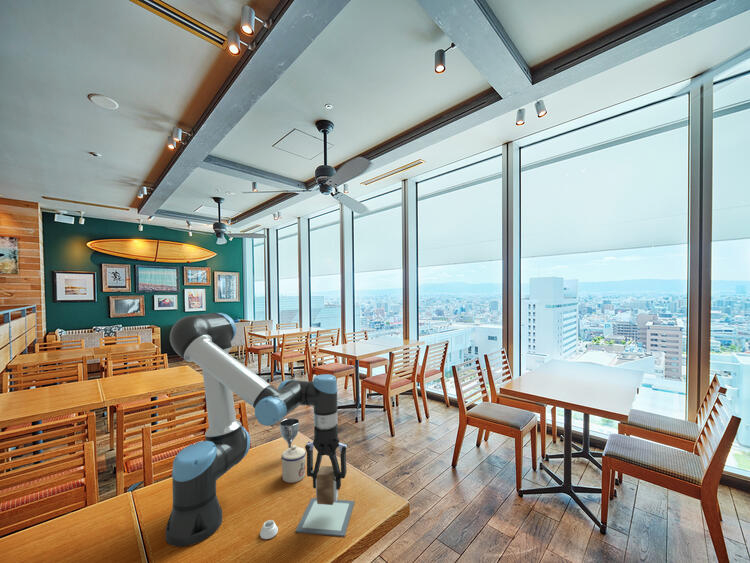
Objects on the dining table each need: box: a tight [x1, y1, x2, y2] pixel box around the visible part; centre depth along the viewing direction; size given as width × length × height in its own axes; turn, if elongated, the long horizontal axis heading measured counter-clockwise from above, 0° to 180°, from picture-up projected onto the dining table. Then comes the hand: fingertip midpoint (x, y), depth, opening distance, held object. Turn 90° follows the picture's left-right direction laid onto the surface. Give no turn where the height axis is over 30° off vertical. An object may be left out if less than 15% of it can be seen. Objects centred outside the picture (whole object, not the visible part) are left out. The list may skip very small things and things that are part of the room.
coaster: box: [295, 497, 355, 537], centre depth 101 cm, size 15×15×1 cm
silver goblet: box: [279, 417, 300, 460], centre depth 137 cm, size 8×8×15 cm
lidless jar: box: [259, 519, 279, 540], centre depth 94 cm, size 5×3×5 cm
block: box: [317, 465, 335, 505], centre depth 101 cm, size 5×5×9 cm
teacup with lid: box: [281, 444, 307, 484], centre depth 124 cm, size 12×9×12 cm
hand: (327, 498), depth 101 cm, fingers closed on block, 5 cm apart
